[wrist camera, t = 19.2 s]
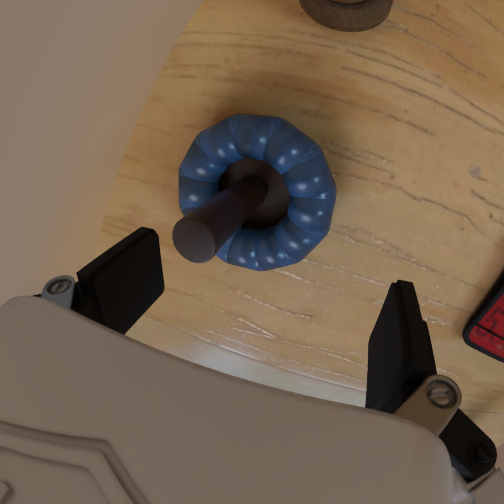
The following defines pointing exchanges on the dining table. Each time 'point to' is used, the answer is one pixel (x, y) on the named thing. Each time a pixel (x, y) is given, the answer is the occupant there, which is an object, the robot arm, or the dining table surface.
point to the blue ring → (280, 158)
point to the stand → (233, 209)
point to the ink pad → (488, 325)
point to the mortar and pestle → (347, 13)
